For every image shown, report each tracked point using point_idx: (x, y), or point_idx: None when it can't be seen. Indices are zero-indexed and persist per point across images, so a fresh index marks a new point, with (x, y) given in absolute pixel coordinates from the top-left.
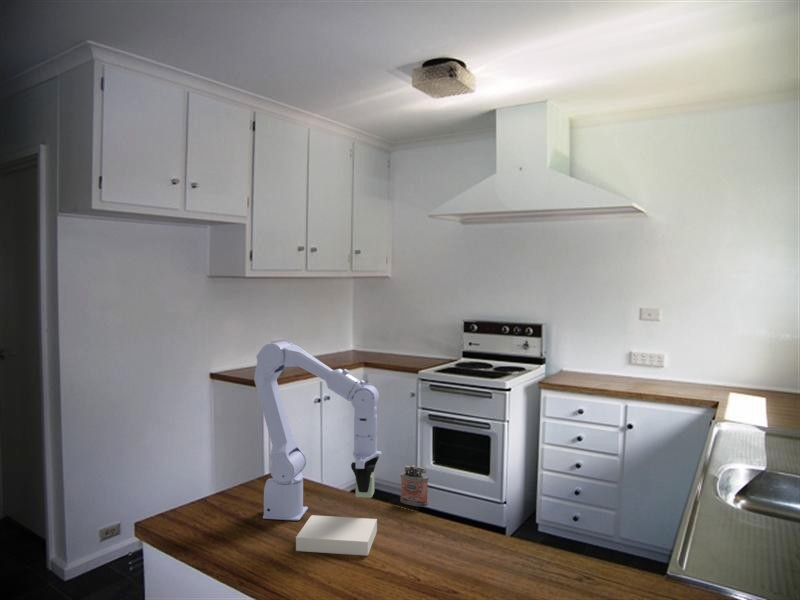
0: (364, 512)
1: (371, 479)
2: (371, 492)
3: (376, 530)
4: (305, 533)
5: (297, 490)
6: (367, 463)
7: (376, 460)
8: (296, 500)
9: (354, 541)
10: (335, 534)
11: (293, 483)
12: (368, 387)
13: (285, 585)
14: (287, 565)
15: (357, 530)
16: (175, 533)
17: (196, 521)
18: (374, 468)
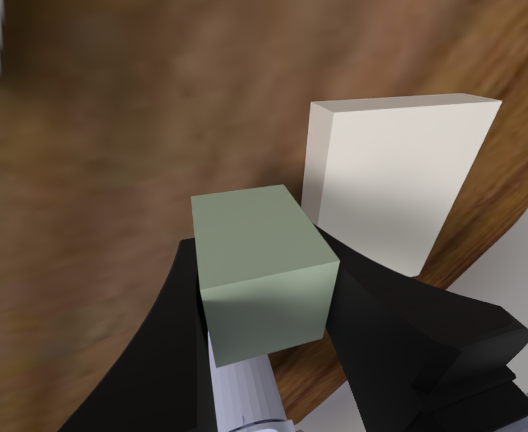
0: (148, 194)
1: (331, 250)
2: (293, 199)
3: (322, 103)
4: (405, 268)
5: (264, 392)
6: (442, 406)
7: (200, 416)
8: (259, 363)
9: (479, 145)
10: (427, 208)
11: (269, 421)
12: None
13: (507, 216)
14: (446, 242)
15: (417, 158)
16: (322, 393)
17: (284, 401)
18: (141, 325)
